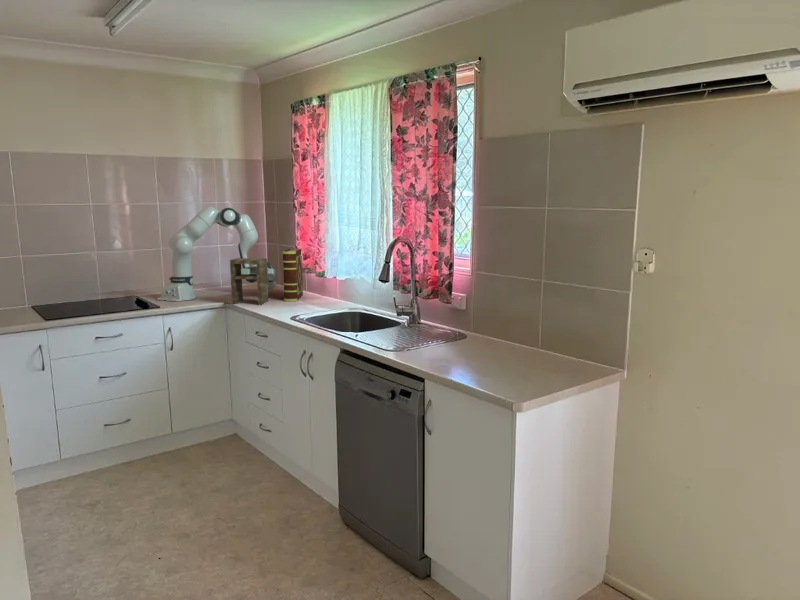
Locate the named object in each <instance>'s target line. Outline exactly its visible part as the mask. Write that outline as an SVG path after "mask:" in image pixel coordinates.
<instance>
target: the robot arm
mask: <svg viewBox="0 0 800 600" xmlns="http://www.w3.org/2000/svg"><path fill="white" fill-rule="evenodd" d="M215 224H217V225H219V226H221V227H225V228H226V227H227V228H228V227H234V228H235V229H236V231H237V233H238V235H239V243H238V246H237V247H238V252H239V258H248V251H249V250H250V249H251V248H252V247H253V246H254V245H255V244H256V242H257V241H258V239H259V234H258V230H257V229H256V226H255V224H254V222H253V220H252V219H251V217H250V216H249V215H248V214H247V213H246V214H245V213H243V214H240V213H239V212H237V211H236V210H235V209H234V208H231V207H225V208H223V209H221V210H218V209H216V207H213V206H210V205H209V206H206V207H205V208H203V209H202V210H200V211H199V212H198V213H197V214H196V215H195V216H194V217H193V218H191V220H190V221H189V222H188V223H186V224H185V225H184V226H183V227H182V228H180V229H179V230H178V231H177V232H176V233H175V234H173V235H172V236H171V237H170V238H169V241H168V247H169V249H170V250H171V251H172V262H171V270H172V276H171V277H169V278H168V281H170V282H169V283H168V284H167V285H166V286H164V287H163V288H162V289H161V291H160V296H159V297H157V301H164V300H166V301H167V302H180V301H190V300H195V299H196V298H197V296H196V294H195V290H194V289H195V288H194V278H193V272H192V271H193V270H192V269H193V268H192V259H193V258H192V257H193V256H192V255H193V245H194V244H193V243H195V242H196V241H198V240H199V239H200V238H202V237H203V236H204V235H205V234H206V233H207V232H208V231H209V229H211V228H212V227H213V226H214V225H215ZM255 265H257V264H255ZM241 267H242V269H243V268H246V267H250V264H241ZM251 274H257V272H254V273H251ZM267 278H268V291H271V290H274V289H275V288H276V287H277V281H276V279H277V271H276V269H275V268H274V267H273V264H271V263H270V262H269V261H267ZM245 281H246V282H248V283H252V284H253V283H255V282H257V279H245Z"/></svg>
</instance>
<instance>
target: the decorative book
mask: <svg viewBox="0 0 800 600" xmlns="http://www.w3.org/2000/svg"><path fill="white" fill-rule="evenodd" d="M301 251H302V248H299V249H297V250H291V248H288V249H286V250H283V251H282V252H281V254H282V263H283V265H282V270H283V293H284V294H283V295H284V297H283V301H284V302H297V301H298V300H299V299H300V298H302V297H303V295H304V294H303V293H304V286H303V255H302V256H301ZM301 296H302V297H301Z"/></svg>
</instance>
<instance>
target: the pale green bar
mask: <svg viewBox="0 0 800 600" xmlns="http://www.w3.org/2000/svg"><path fill="white" fill-rule="evenodd" d="M249 266H250V265H249ZM254 272H257V265H256V264H253V265H251V266H250V267H246V268H243V267H242V268H241V274H251V273H254Z"/></svg>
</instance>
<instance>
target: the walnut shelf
mask: <svg viewBox="0 0 800 600" xmlns="http://www.w3.org/2000/svg"><path fill="white" fill-rule="evenodd" d="M267 262H268V259H267V258H264V257H263V258H261V257H259V258H255V257H251V258H250V257H247V258H240V257H236V258H233V259H229V265H230V284H231V285H230V286H231V287H230V288H231V289H230V290H231V304H232V305H237V304H239V302H240V303H242V302H244V295H243V294H244V293H243V292H244V291H243V280H246V279H257V281H256V282H257V283H256V284H257V303H258V304H260V305H259V306H263V305H264V303H265V304H267V303H269V290H268V278H267ZM242 264H249V265H252V264H253V265H256V264H257V274H241V269H242ZM241 301H242V302H241ZM266 302H267V303H266ZM262 304H263V305H262Z"/></svg>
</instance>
